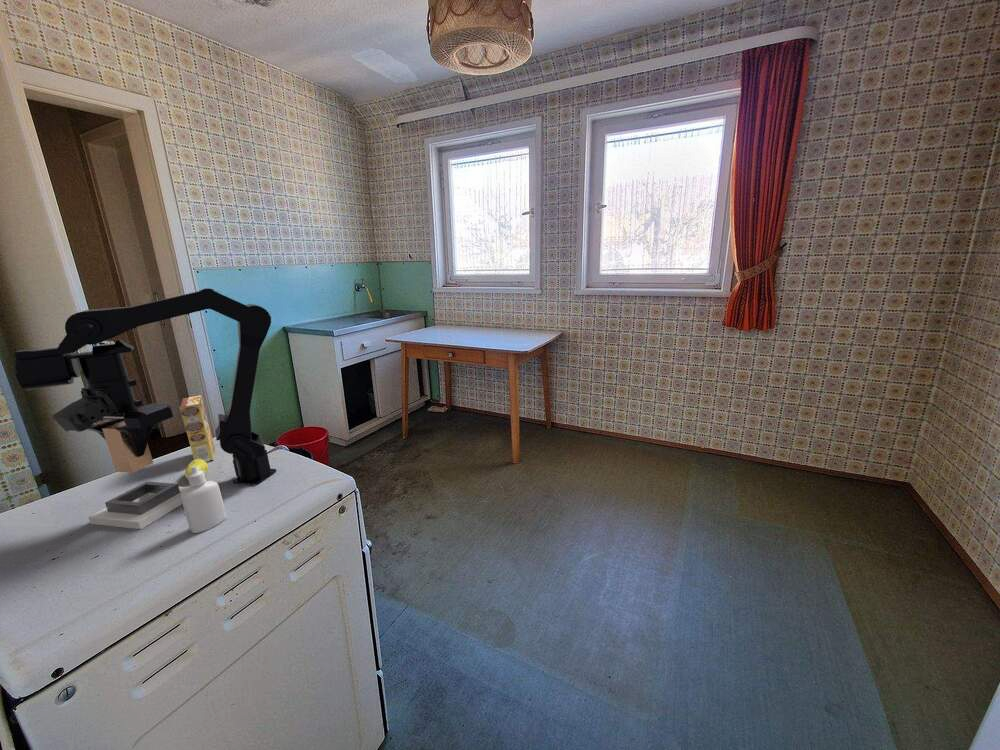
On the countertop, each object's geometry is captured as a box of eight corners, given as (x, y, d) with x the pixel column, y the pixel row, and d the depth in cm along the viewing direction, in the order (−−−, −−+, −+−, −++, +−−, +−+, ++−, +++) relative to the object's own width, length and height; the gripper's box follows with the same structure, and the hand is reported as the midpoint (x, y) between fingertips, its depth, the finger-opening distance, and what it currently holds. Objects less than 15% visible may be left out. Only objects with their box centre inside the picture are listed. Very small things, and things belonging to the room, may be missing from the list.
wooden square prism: (153, 462, 82) (141, 421, 80) (132, 472, 78) (119, 429, 76) (137, 461, 83) (124, 420, 80) (116, 471, 79) (102, 428, 77)
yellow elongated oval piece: (182, 486, 91) (178, 470, 90) (193, 470, 98) (189, 456, 97) (204, 482, 93) (200, 466, 92) (213, 467, 100) (209, 452, 99)
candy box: (214, 460, 103) (200, 403, 99) (194, 465, 101) (178, 407, 97) (215, 448, 110) (202, 394, 106) (196, 453, 108) (181, 397, 104)
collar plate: (198, 494, 87) (194, 479, 86) (140, 529, 76) (135, 512, 75) (152, 490, 90) (148, 476, 89) (90, 523, 78) (84, 507, 77)
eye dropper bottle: (192, 523, 77) (176, 466, 74) (227, 514, 80) (213, 458, 76) (188, 536, 73) (171, 476, 70) (225, 525, 76) (211, 467, 73)
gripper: (12, 391, 70) (43, 473, 74) (98, 393, 66) (126, 479, 70) (87, 373, 80) (111, 446, 85) (164, 374, 77) (185, 450, 81)
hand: (131, 455), depth 80 cm, fingers closed on wooden square prism, 4 cm apart
